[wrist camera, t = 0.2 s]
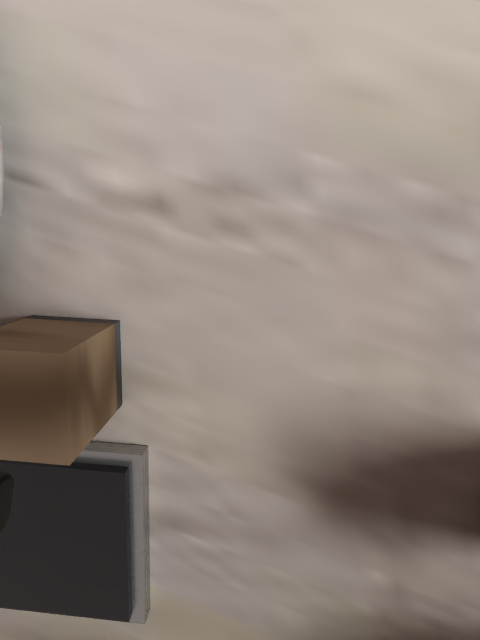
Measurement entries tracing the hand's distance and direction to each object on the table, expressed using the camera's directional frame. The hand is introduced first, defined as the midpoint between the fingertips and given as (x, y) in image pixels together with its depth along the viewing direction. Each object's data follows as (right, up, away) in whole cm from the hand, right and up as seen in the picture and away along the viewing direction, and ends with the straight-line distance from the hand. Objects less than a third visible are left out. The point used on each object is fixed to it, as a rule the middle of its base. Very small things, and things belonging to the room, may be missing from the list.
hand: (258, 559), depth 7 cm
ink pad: (-12, -9, +18) cm, 23 cm away
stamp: (-10, +2, +15) cm, 18 cm away
